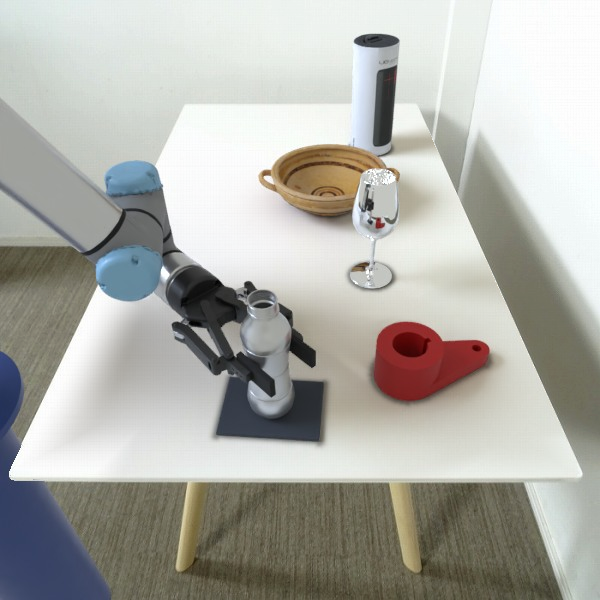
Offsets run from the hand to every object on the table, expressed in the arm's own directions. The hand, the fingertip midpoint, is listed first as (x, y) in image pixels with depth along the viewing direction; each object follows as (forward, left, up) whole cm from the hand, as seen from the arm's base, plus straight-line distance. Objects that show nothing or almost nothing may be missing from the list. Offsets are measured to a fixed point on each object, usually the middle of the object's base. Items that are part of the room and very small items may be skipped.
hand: (293, 373), depth 67 cm
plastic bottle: (-4, +3, -11) cm, 12 cm away
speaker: (+10, +86, -12) cm, 88 cm away
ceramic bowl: (+1, +59, -12) cm, 61 cm away
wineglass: (+10, +34, -12) cm, 38 cm away
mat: (-4, +3, -12) cm, 13 cm away
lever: (+19, +12, -12) cm, 26 cm away
